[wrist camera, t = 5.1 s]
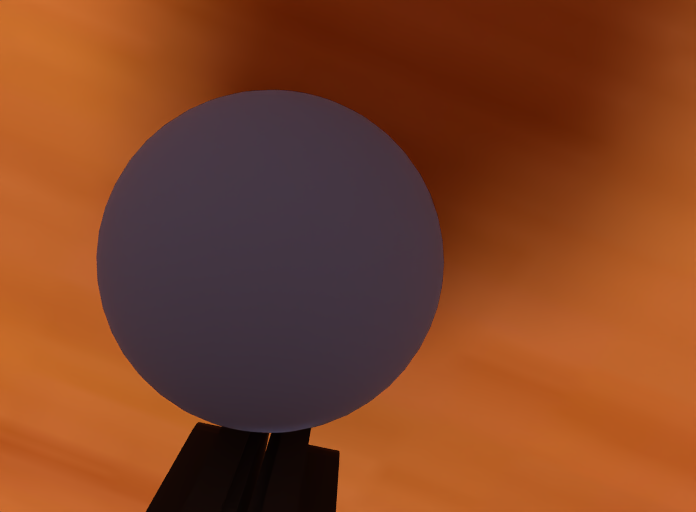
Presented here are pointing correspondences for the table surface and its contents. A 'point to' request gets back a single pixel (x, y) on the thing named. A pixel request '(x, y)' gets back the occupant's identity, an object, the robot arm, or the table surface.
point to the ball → (270, 261)
